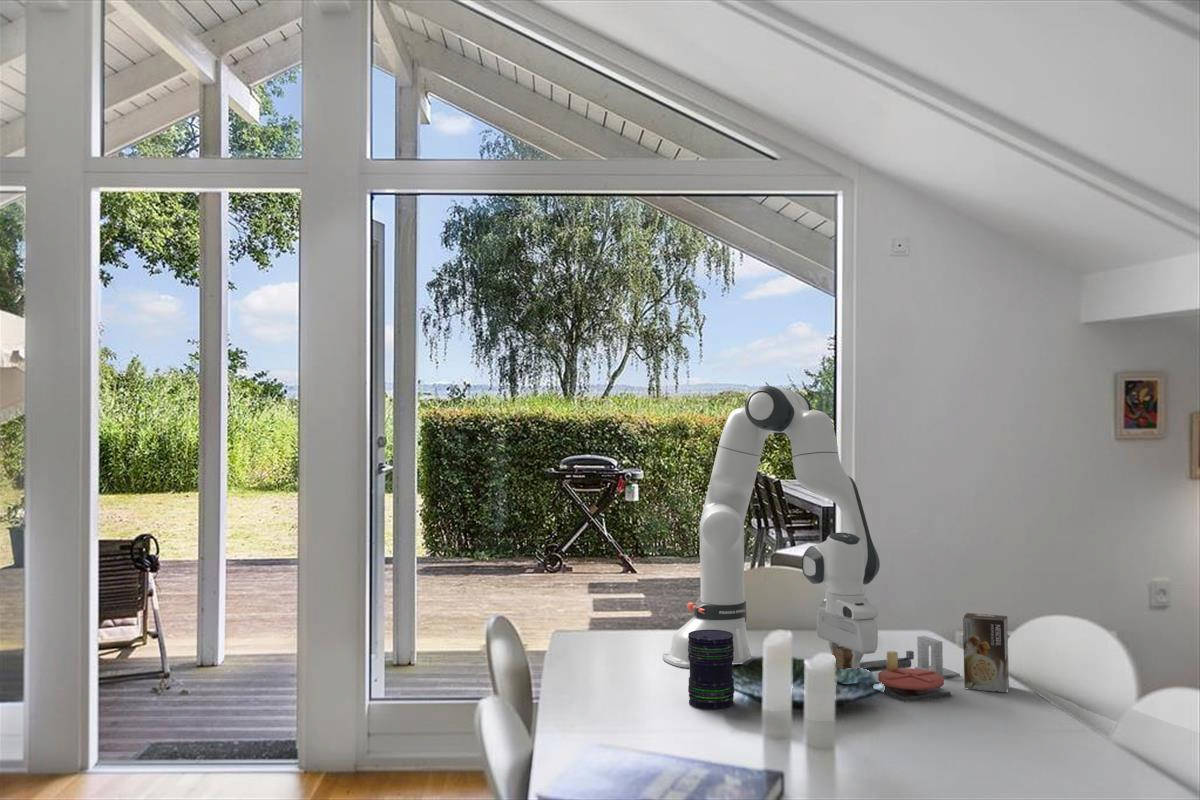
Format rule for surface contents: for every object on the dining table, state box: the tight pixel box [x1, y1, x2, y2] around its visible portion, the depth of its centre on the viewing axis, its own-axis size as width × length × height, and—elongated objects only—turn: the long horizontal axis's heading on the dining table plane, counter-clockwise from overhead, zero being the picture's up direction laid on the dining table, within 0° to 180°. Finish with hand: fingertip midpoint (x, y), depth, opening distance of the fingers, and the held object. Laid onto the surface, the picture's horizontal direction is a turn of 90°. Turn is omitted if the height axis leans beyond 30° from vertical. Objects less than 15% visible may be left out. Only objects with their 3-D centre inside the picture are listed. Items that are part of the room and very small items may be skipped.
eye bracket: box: [914, 635, 961, 679], centre depth 258 cm, size 6×9×8 cm, turn 20°
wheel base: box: [883, 685, 952, 703], centre depth 242 cm, size 12×12×1 cm
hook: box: [833, 645, 915, 673], centre depth 253 cm, size 20×4×8 cm, turn 110°
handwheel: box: [877, 650, 945, 690], centre depth 242 cm, size 14×14×6 cm
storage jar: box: [687, 630, 735, 711], centre depth 234 cm, size 10×10×15 cm
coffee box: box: [962, 612, 1010, 693], centre depth 245 cm, size 9×6×16 cm
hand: (845, 665), depth 250 cm, fingers open, 6 cm apart
